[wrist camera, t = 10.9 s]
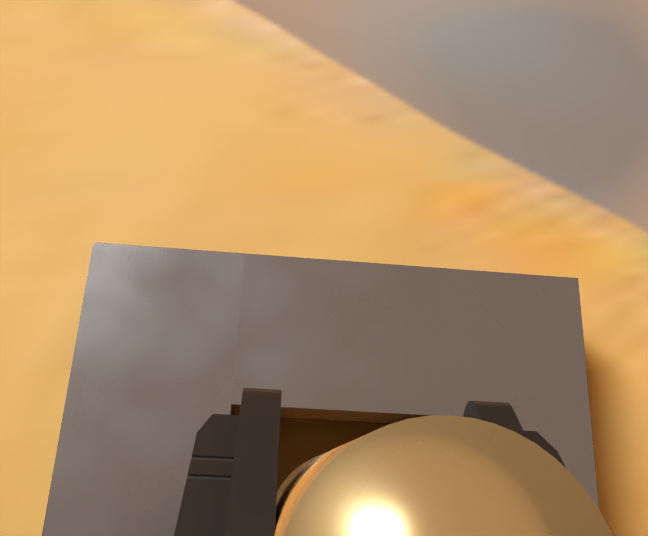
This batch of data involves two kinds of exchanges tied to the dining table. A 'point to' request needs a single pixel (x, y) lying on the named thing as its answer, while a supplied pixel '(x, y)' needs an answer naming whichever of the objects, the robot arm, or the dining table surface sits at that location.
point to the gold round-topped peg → (436, 486)
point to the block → (295, 364)
